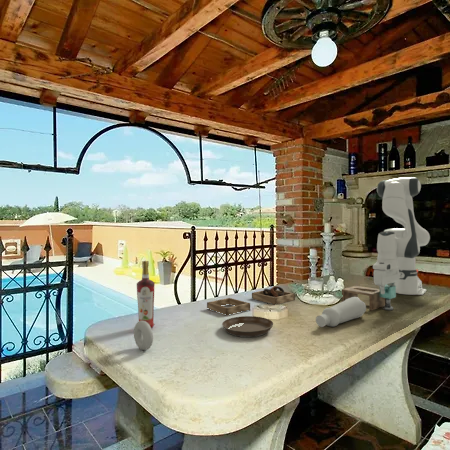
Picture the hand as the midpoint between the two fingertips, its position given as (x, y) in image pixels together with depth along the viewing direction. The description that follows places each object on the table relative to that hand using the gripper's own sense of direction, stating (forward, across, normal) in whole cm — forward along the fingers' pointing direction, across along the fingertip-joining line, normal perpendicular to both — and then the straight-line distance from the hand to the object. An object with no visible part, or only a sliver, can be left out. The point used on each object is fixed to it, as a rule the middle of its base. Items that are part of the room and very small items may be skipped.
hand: (387, 292), depth 159 cm
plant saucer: (+9, +73, -23) cm, 77 cm away
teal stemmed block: (+8, 0, 0) cm, 8 cm away
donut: (+9, +114, -32) cm, 119 cm away
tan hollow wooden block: (+8, +1, -12) cm, 15 cm away
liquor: (+9, +103, -53) cm, 116 cm away
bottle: (+9, +36, -4) cm, 37 cm away
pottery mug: (+9, +25, -53) cm, 59 cm away
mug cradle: (+8, +26, -52) cm, 59 cm away
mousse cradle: (+8, +59, -52) cm, 79 cm away
